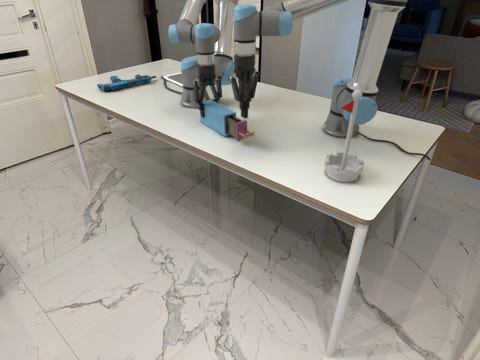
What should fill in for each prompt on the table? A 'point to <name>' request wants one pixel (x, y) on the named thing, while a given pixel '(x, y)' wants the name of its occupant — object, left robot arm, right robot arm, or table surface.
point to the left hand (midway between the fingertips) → (209, 114)
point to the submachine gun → (124, 82)
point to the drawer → (237, 128)
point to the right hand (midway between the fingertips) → (244, 117)
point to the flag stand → (346, 151)
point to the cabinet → (216, 116)
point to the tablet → (175, 78)
